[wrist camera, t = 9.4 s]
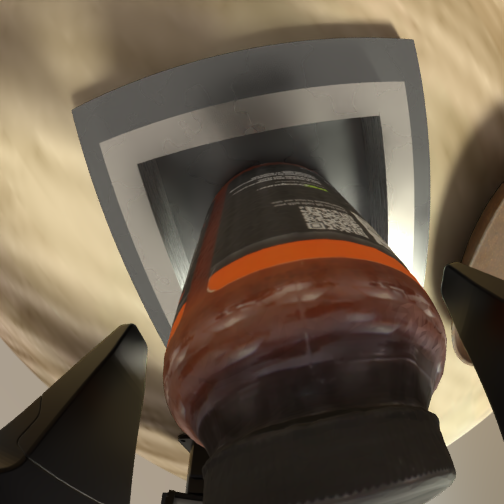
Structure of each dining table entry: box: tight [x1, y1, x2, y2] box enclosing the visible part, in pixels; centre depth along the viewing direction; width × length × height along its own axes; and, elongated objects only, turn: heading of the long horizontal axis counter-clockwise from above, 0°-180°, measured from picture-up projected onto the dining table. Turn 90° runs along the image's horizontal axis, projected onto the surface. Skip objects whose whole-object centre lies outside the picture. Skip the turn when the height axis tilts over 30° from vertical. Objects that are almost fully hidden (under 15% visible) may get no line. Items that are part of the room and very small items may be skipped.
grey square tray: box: [72, 38, 430, 348], centre depth 12 cm, size 15×15×3 cm
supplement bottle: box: [163, 162, 456, 504], centre depth 8 cm, size 6×6×11 cm
